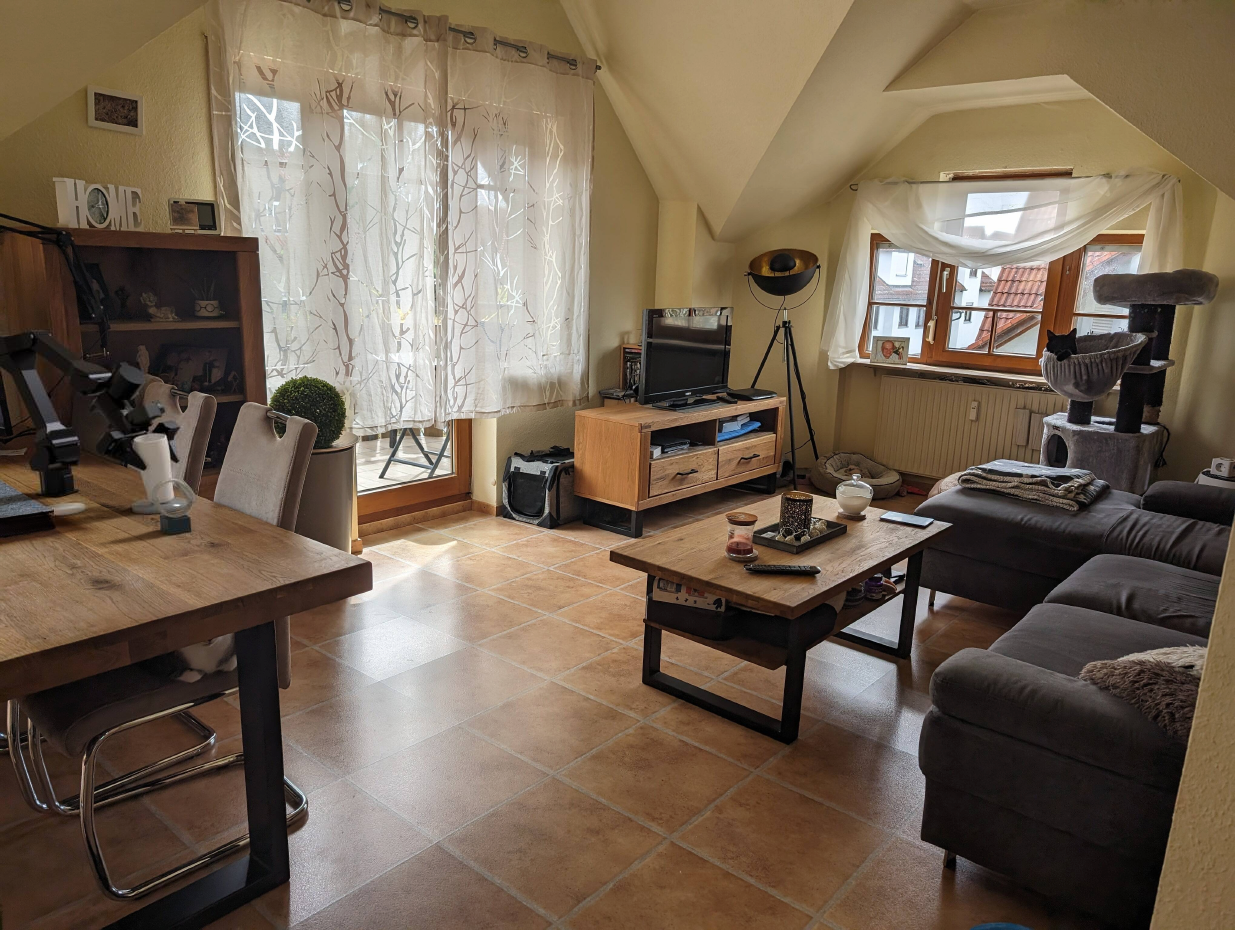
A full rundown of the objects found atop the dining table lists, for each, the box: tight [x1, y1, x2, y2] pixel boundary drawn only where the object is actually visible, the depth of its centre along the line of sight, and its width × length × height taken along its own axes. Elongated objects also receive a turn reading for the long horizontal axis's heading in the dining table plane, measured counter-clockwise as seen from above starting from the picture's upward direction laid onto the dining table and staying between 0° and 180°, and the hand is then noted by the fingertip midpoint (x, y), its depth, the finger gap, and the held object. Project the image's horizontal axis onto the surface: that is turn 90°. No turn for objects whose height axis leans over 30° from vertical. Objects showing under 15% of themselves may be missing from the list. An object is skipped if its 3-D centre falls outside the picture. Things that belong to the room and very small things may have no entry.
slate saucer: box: [131, 496, 188, 515], centre depth 197 cm, size 11×11×1 cm
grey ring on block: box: [152, 477, 196, 536], centre depth 179 cm, size 6×8×11 cm
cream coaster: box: [46, 502, 87, 516], centre depth 192 cm, size 8×8×1 cm
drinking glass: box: [133, 434, 175, 504], centre depth 195 cm, size 7×7×15 cm
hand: (162, 465), depth 195 cm, fingers open, 9 cm apart
